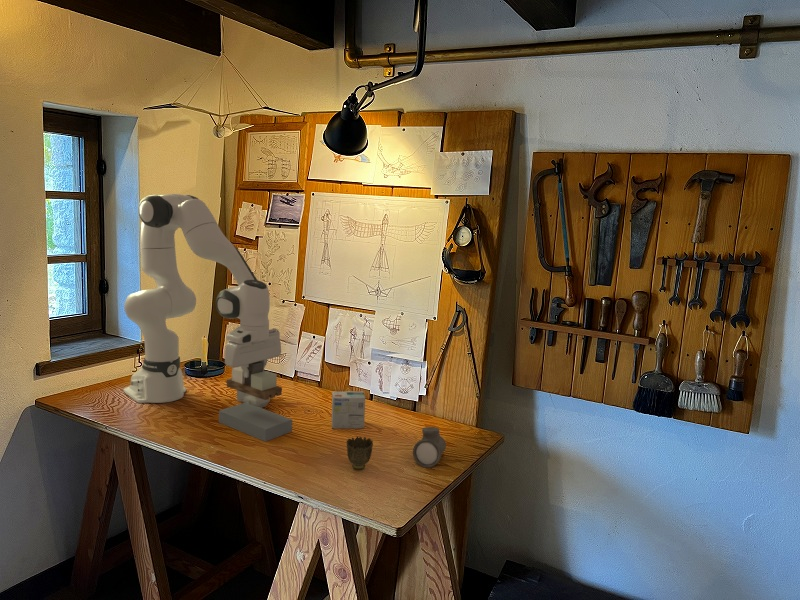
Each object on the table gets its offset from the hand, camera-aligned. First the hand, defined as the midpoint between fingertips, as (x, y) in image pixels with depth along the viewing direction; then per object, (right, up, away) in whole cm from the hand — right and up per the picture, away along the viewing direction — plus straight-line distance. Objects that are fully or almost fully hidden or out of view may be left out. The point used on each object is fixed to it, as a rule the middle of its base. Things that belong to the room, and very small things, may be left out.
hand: (253, 375), depth 197 cm
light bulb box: (+29, -18, +9) cm, 35 cm away
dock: (0, -17, +3) cm, 17 cm away
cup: (+34, -24, -22) cm, 47 cm away
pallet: (0, -5, +1) cm, 5 cm away
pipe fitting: (+55, -24, -13) cm, 62 cm away
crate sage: (+4, -3, -2) cm, 5 cm away
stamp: (-4, -14, +20) cm, 24 cm away
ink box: (-9, -12, +28) cm, 32 cm away
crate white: (-4, -2, +3) cm, 5 cm away
